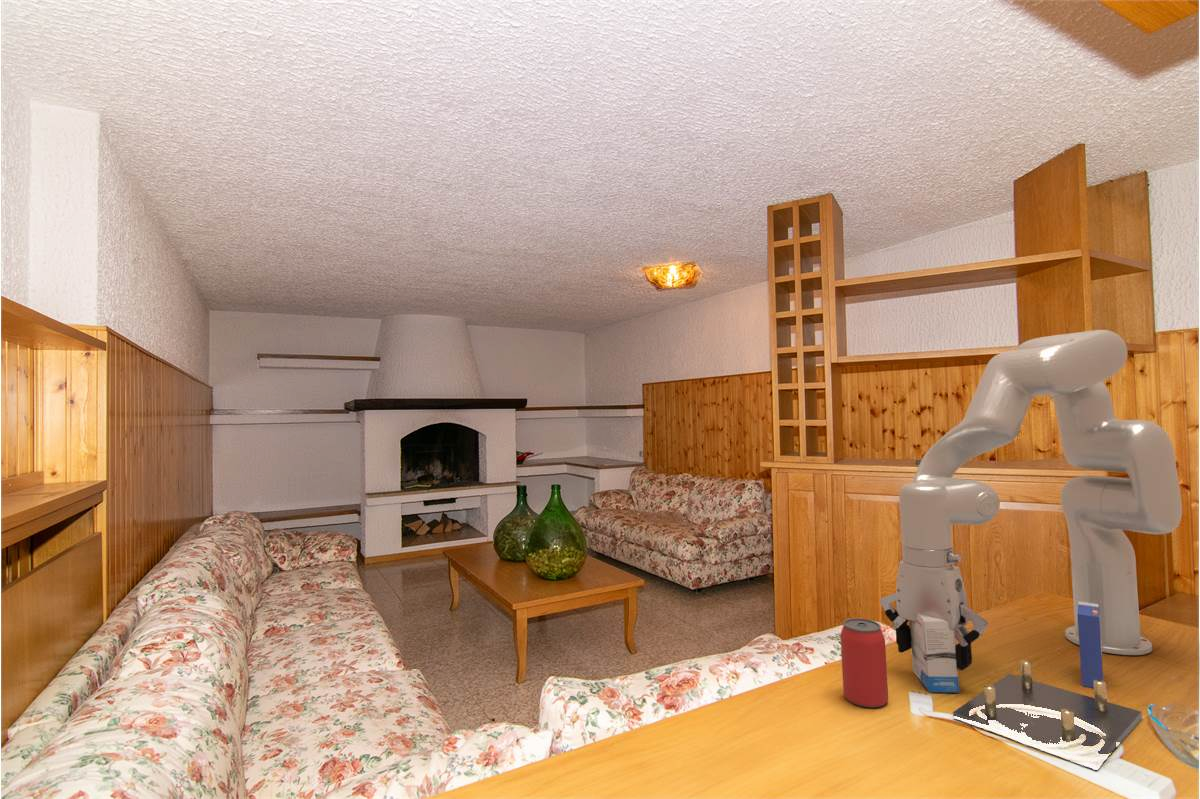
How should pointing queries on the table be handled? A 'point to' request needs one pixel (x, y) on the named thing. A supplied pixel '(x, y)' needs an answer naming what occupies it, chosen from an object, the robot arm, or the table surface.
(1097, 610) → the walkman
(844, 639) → the beer can
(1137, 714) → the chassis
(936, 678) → the ink box
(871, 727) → the table surface
